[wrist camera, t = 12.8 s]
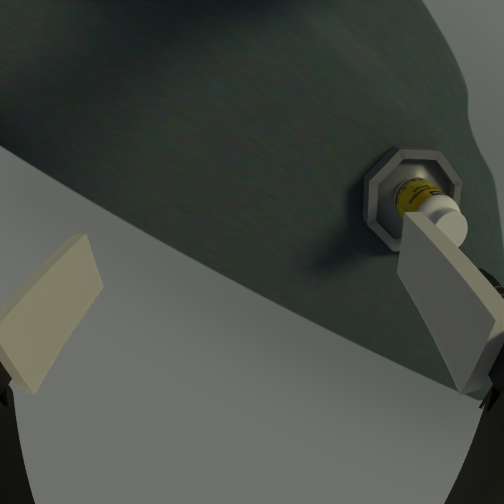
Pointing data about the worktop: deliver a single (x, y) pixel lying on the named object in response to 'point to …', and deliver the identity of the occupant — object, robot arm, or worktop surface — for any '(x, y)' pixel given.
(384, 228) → the octagonal tray
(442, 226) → the pill bottle
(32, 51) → the worktop surface
